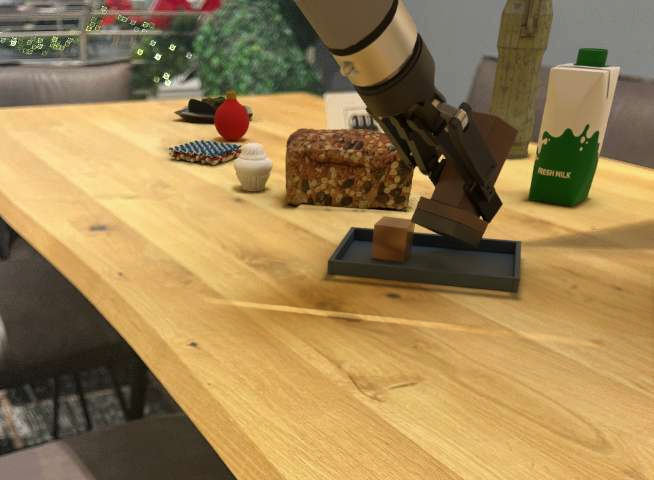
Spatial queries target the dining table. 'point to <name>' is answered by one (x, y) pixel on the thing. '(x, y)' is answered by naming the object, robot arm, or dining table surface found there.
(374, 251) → the wooden block
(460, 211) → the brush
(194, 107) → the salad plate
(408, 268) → the tray
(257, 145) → the muffin
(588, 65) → the milk carton
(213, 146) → the woven mat
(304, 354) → the dining table surface
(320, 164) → the bread
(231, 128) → the christmas ornament
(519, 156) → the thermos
